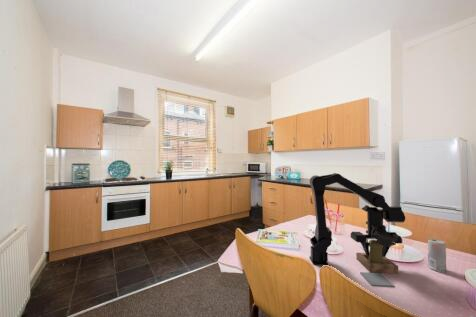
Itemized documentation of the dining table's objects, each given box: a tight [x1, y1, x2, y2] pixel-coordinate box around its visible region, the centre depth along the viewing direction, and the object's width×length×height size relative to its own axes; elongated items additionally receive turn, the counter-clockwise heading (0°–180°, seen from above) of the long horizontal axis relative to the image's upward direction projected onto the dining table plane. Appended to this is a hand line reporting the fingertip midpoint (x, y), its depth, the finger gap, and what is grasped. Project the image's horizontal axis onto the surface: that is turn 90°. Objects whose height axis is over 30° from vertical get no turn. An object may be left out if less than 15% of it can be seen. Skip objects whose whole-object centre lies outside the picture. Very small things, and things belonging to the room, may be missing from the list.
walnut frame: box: [355, 252, 399, 274], centre depth 85 cm, size 11×11×3 cm
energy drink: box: [427, 238, 447, 274], centre depth 82 cm, size 5×5×12 cm
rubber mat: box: [359, 271, 395, 288], centre depth 75 cm, size 8×8×1 cm
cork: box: [368, 239, 384, 264], centre depth 85 cm, size 6×6×11 cm
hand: (375, 256), depth 85 cm, fingers open, 6 cm apart
